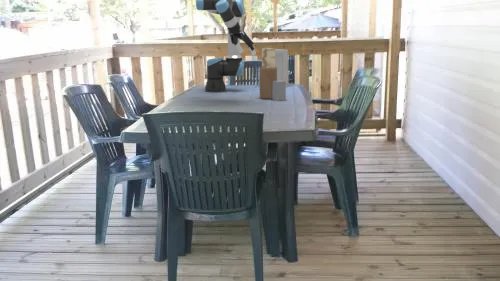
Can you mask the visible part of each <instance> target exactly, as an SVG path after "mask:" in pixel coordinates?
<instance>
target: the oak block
mask: <svg viewBox="0 0 500 281" xmlns="http://www.w3.org/2000/svg"><path fill="white" fill-rule="evenodd" d="M275 49H276V48H273V47H264V48H263V47H262V48H261V68H262V67H265V68H273V67H275Z"/></svg>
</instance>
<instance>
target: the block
mask: <svg viewBox="0 0 500 281" xmlns="http://www.w3.org/2000/svg"><path fill="white" fill-rule="evenodd" d="M273 81H277V67H273V68H265V67H262V66H261V67H260V68H259V99H261V100H272V86H273Z"/></svg>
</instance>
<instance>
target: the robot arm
mask: <svg viewBox="0 0 500 281" xmlns="http://www.w3.org/2000/svg"><path fill="white" fill-rule="evenodd" d="M244 7H245V6H244V1H243V0H195V8H196V10H197V11H208V12H209V13H210V14H215V15H219V16H220V18H221V20H222V21H223V23H224V26H226V28H227V55H226V56H225V59H224V58H223V57H215V58H210V59H207V61H206V82H205V87H204V91H205V92H208V93H209V92H210V93H221V92H223V93H224V92H226V91H227V86H226V84H225V80H224V77H241V76H242V75H243V74H244V69H245V68H244V67H245V60H244V59H243V57H242V55H241V54H242V53H244V49H243V48H242V46H241V41H242V42H244V43H245V45H247V48H248V49H249V51H250V53H251V55H252V56H253V57H254V56H255V55H256V54H257V52H256V50H255V48H254V46H253V45H254V42H253V41H252V39H251V38H250V37H249V36H248V35H247V33H246V32H245V31H244V30H241V24H240V23H241V22H240V21H241V19H242V18H243V15H245V8H244Z"/></svg>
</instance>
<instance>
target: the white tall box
mask: <svg viewBox="0 0 500 281" xmlns="http://www.w3.org/2000/svg"><path fill="white" fill-rule="evenodd" d="M288 62H289V50H288V49H279V48H275V67H277V81H278V80H281V81H286V88H288V78H289V77H288V76H289V75H288V71H289V70H288V66H289V63H288Z"/></svg>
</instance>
